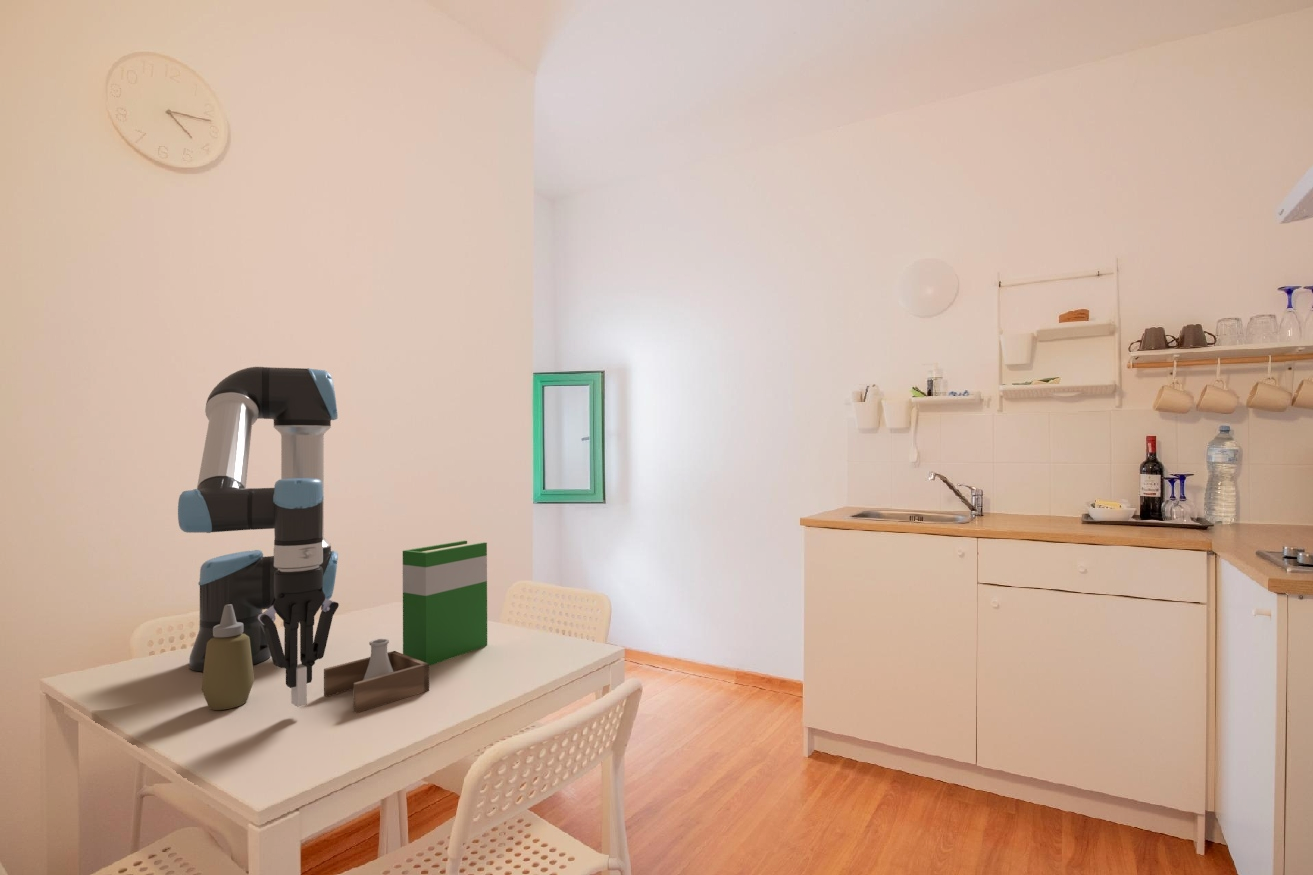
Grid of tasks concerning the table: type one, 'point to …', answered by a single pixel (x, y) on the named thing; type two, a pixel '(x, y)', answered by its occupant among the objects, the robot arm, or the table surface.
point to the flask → (378, 659)
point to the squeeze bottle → (227, 664)
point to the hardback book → (444, 600)
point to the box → (378, 681)
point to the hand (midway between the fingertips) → (298, 703)
